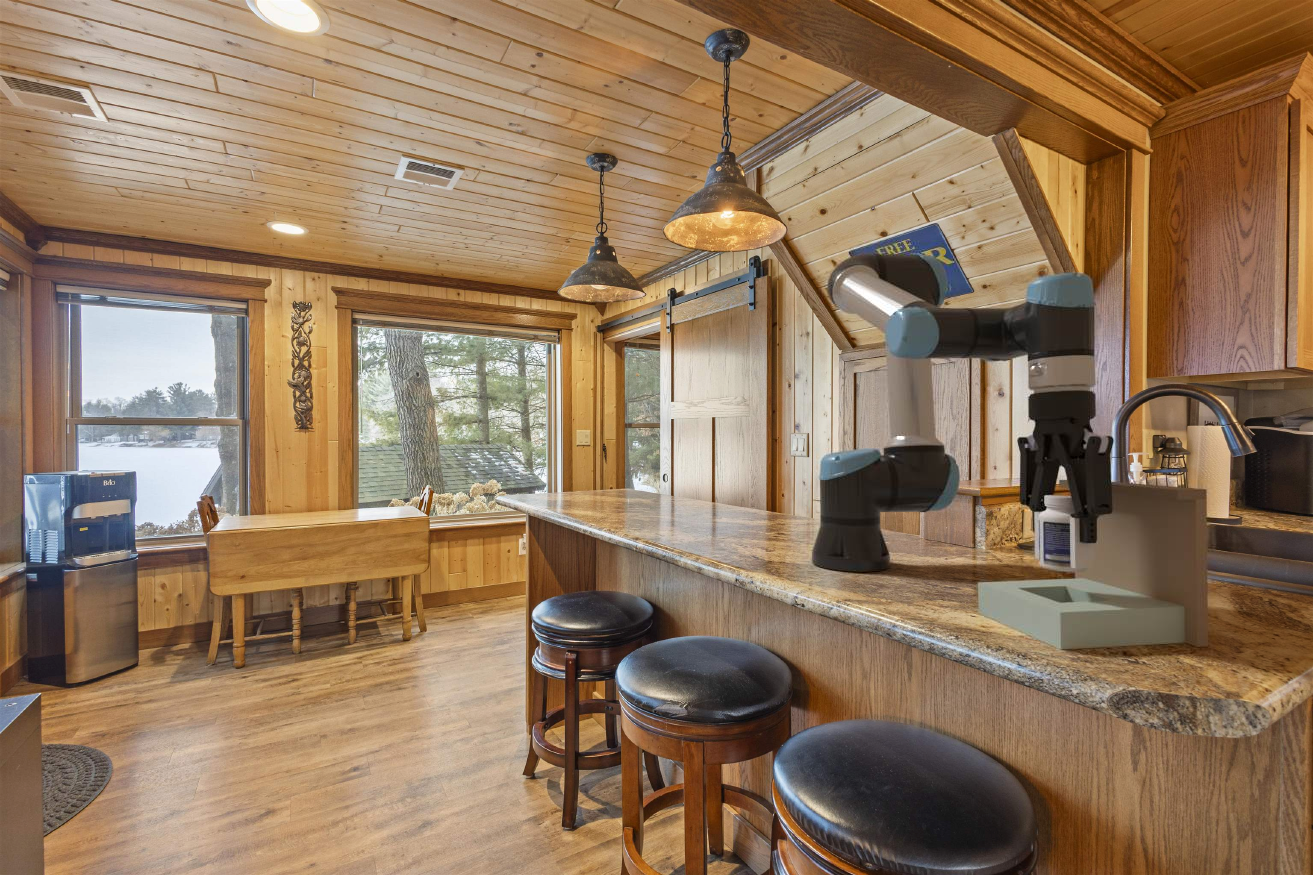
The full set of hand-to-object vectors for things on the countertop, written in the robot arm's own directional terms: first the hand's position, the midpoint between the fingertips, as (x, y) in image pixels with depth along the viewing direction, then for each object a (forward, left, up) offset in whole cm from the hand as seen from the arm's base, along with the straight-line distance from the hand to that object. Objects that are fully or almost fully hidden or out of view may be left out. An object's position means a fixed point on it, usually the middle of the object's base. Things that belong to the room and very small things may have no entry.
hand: (1063, 562), depth 79 cm
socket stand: (0, +2, -9) cm, 9 cm away
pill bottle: (0, 0, -1) cm, 1 cm away
